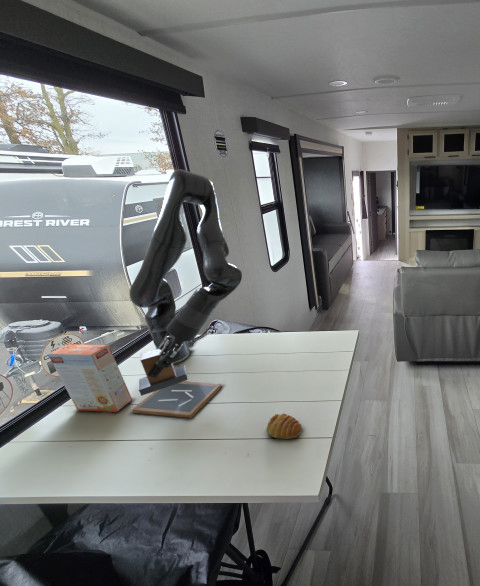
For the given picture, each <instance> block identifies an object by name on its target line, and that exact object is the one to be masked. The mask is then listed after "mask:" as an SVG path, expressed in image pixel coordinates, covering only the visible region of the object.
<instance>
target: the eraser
mask: <svg viewBox="0 0 480 586" xmlns="http://www.w3.org/2000/svg"><path fill="white" fill-rule="evenodd" d="M162 349H163V348H161V349H156V348H155V349H153V350H150V351H146V352H143V353H140V363H141V366H142V368H143V370H144V373H145V375H146V376H145V377H141V378H139V379H138V392H139V393H140V396H142V397H143V396H145V395H148V394H150V393H151V394H152V393H153V392H155V391H157V390H160V389H163V388H166V387H169V386H171V385H174V384H177V383H180V382H187V381H188V380H189V379H188V374H187V369H186V366H185V364H182V365H179V366H176V367H175V366H174V364H173V363H171V364H170V366H169V367H168V368H165V367H164V368H163V369H162V370H161V372H160V373H159V375H158V376H157V377H156V378H154V377H150V376H148V373H149V371H150V370H151V369H152V367H153V366H154V365H155V363H156V361H157V360H158V359H159V357H160V355H159V353H160V352H161V350H162ZM164 354H166V353H165V352H164ZM163 362H166V361H163Z"/></svg>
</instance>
